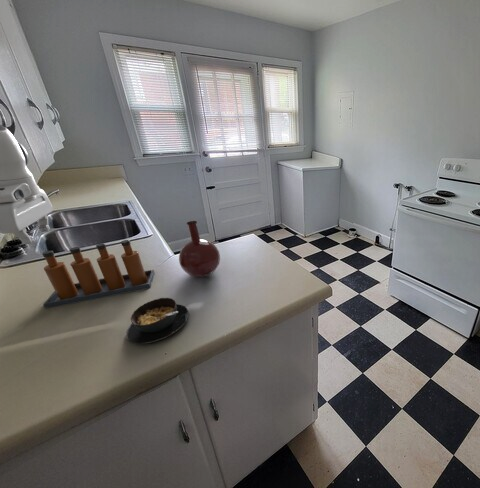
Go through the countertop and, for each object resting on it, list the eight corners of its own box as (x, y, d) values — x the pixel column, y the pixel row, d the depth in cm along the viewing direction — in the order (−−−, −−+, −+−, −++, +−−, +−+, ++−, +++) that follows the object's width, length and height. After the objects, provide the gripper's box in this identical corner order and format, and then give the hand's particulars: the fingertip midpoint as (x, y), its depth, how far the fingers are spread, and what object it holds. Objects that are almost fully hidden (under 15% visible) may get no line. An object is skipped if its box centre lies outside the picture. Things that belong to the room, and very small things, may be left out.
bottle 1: (82, 296, 85) (61, 252, 79) (87, 289, 89) (68, 246, 82) (99, 293, 87) (80, 250, 80) (104, 285, 90) (86, 244, 84)
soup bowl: (180, 302, 83) (174, 281, 80) (199, 328, 72) (193, 306, 69) (122, 325, 74) (113, 303, 71) (134, 359, 63) (124, 335, 60)
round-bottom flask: (223, 263, 105) (213, 214, 97) (222, 280, 94) (211, 226, 85) (186, 268, 102) (173, 218, 93) (181, 287, 90) (165, 232, 82)
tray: (46, 310, 80) (43, 304, 79) (61, 291, 89) (58, 286, 88) (150, 289, 89) (149, 283, 89) (155, 274, 98) (153, 269, 97)
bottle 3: (130, 287, 89) (114, 245, 83) (133, 280, 93) (118, 239, 87) (146, 284, 91) (132, 242, 85) (148, 277, 95) (135, 237, 88)
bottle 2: (107, 291, 87) (88, 249, 81) (111, 284, 91) (93, 243, 85) (123, 288, 89) (107, 246, 82) (127, 281, 93) (111, 240, 86)
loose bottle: (56, 301, 83) (33, 257, 76) (63, 293, 87) (41, 250, 80) (75, 298, 84) (53, 254, 78) (80, 290, 88) (60, 247, 82)
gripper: (21, 182, 79) (41, 226, 85) (-30, 199, 62) (0, 253, 68) (48, 180, 81) (67, 223, 87) (7, 196, 64) (33, 248, 70)
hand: (37, 236), depth 77 cm, fingers open, 8 cm apart
